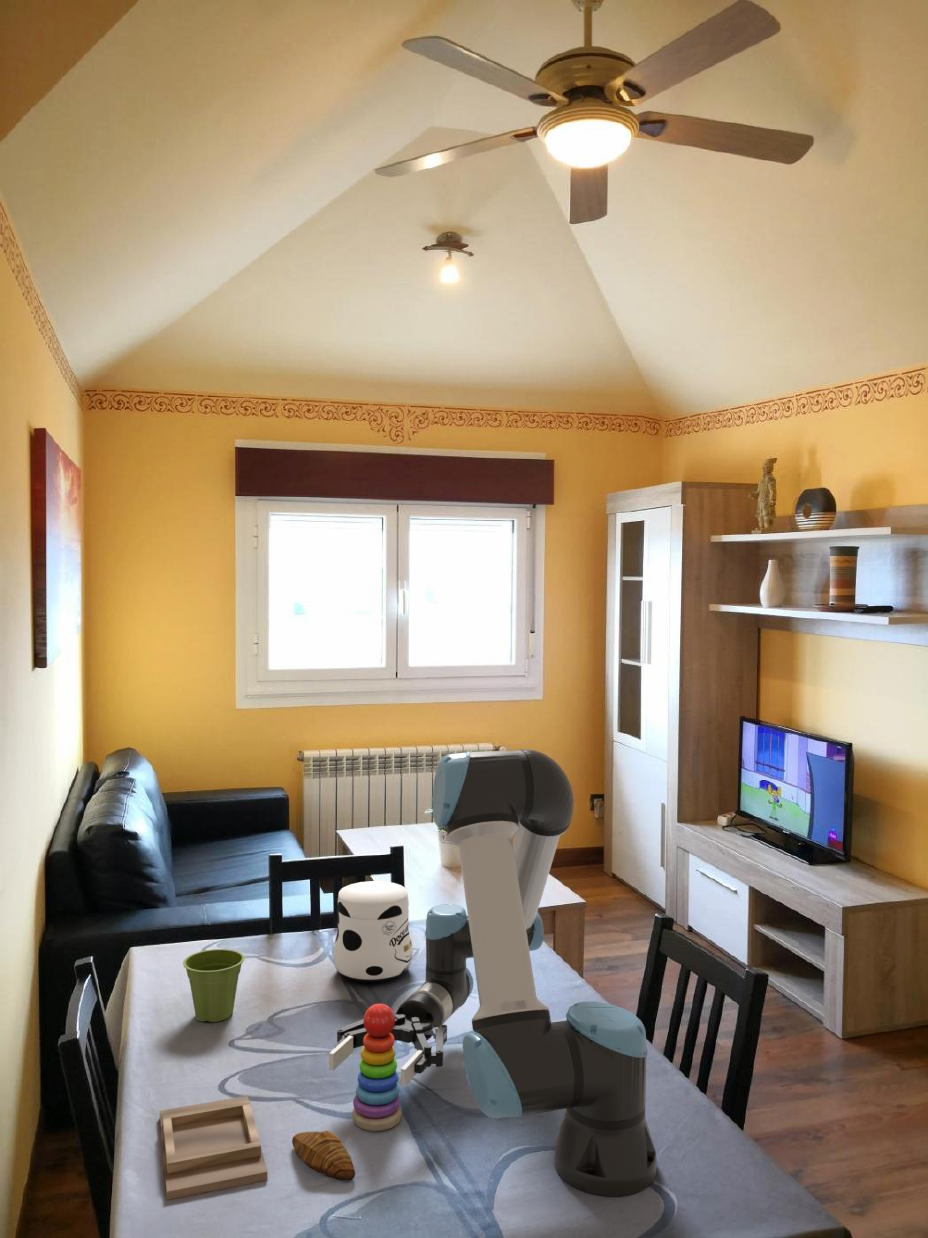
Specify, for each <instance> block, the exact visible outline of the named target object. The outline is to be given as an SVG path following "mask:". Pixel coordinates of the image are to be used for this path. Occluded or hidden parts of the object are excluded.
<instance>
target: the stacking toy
mask: <svg viewBox="0 0 928 1238" xmlns="http://www.w3.org/2000/svg"><path fill="white" fill-rule="evenodd" d="M394 1015H395V1014H394V1011H393V1009H392V1008H391V1007H390V1006H389V1005H387V1004H384V1003H376V1004H372V1005H370V1006H369V1007H368V1008H367V1010H366V1011H365V1013H364V1014H363V1022H364V1027H365V1029H366V1031H367V1032H368V1033H367V1034H366V1035H365V1036H364V1039H363V1045H364V1046H362V1048H361V1051H360V1057H361V1059H360V1061H359V1070H360V1071H359V1073H358V1074H357V1082H358V1084H356V1089H355V1096H354V1098H353V1102H352V1104H353V1109H352V1113H351V1118H352V1121H353V1123H354V1124H355V1125H356V1126H357V1127H359V1128H361V1129H362V1130H365V1131H370V1132H381V1131H385V1130H389V1129H391V1128H394V1127H395V1126H397V1124H399V1123H400V1121H401V1119H402V1116H403V1112H402V1107H401V1105H400V1103H401V1098H400V1097H401V1096H400V1095H399V1094H400V1090H401V1089H400V1088H401V1087H400V1084H399V1083H398V1080H399V1074H398V1072H397V1067H398V1062H397V1059H396V1058H395V1057H396V1050H395V1048H394V1045H395V1041H396V1040H394V1036H393V1035H392V1034H391V1033H390V1032H391V1031H392V1029H393V1027H394V1024H395V1016H394Z"/></svg>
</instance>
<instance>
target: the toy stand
mask: <svg viewBox="0 0 928 1238" xmlns="http://www.w3.org/2000/svg"><path fill="white" fill-rule="evenodd" d="M159 1125H160V1126H159V1127H160V1137H161V1147H162V1159H163V1168H164V1169H163V1170H164V1171H163V1172H164V1180H165V1191H166V1192H165V1193H166V1201H169V1200H175V1199H178V1198H179V1199H180V1198H184V1197H188V1196H193V1195H198V1194H204V1193H209V1192H214V1191H218V1190H219V1191H220V1190H222V1189H228V1188H234V1187H239V1186H245V1185H249V1184H254V1183H258V1182H262V1181H263V1182H264V1181H268V1180H269V1179H268V1168H267V1165H266V1161H265V1158H264V1157H265V1156H264V1153H263V1149H262V1145H261V1144H262V1143H261V1139H260V1135H259V1133H258V1128H257V1125H256V1121H255V1117H254V1114H253V1110H252V1105H251V1102H250V1099H249V1096H248V1095H244V1096H238V1097H231V1098H227V1099H220V1100H214V1101H209V1102H202V1103H197V1104H192V1105H191V1104H190V1105H185V1106H181V1107H175V1108H174V1107H173V1108H168V1109H162V1110H161V1109H160V1110H159Z"/></svg>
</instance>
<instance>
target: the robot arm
mask: <svg viewBox="0 0 928 1238" xmlns="http://www.w3.org/2000/svg"><path fill="white" fill-rule="evenodd" d="M570 782H571V781H570V779H569V778H568V776H567V774H566V773H565V771H564V769H563V768H562V767H561V766H560V765H559V763H557V761H555V760H554V759H553V758H551V757H550V756H549V755H547V754H544V753H542V752H540V751H537V750H534V749H528V748H527V749H518V750H516V749H515V750H492V751H485V750H484V751H469V750H468V751H465V752H459V753H449V754H446V755H445V756H443V757H442V758H441V759H440V761H439V762H438V765H437V767H436V770H435V775H434V779H433V786H432V787H433V789H432V798H431V799H432V816H433V819H434V824H435V825H436V826H437V827H440V828H441V829H442V828H446V833H447V834H446V835H447V840H448V841H449V842H450V843H451V844H453V845H454V846H455V847H457V849H458V851H459V859H460V860H459V861H460V866H461V867H460V868H461V876H462V883H463V889H464V890H463V891H464V897H465V905H466V909H465V908H464V907H462V906H460V905H457V904H446V903H445V904H444V903H442V904H439V905H435V906H432V907H431V908H430V909H429V910H428V911H427V914H426V919H425V920H426V921H425V931H424V937H425V981H424V982H423V984H421V985H420V986H419V987H418V988H417V989H416V990H415V991H414V992H413V993H412V994H411V995H410V996H409V997H407V998H406V999H405V1000H404V1001H403V1002H402V1003H401V1004H400V1005H399V1007H398V1008H397V1011H396V1012H395V1014H394V1016H395V1024H394V1027H393V1029H392V1031H391V1032H390V1033H391V1034H392V1035H393V1036H394V1040H395V1041H396V1042H399V1041H400V1042H403V1043H406V1044H410V1043H411V1044H413V1047H414V1049H415V1050H416V1052H415V1053H414V1054H413V1055H412V1056H411V1057H410V1058H409V1059H408V1061H406V1062H405V1064H403V1066H402V1067H401V1068H400V1086H401V1087H406V1086H408V1084H409V1083H410V1082H411V1081H412V1080H413V1079H414V1078H415V1076H416V1075H418V1074H420V1075H421V1074H422V1073H424V1071H425V1070H427V1068H429V1067H432V1065H435V1067H436V1068H443V1067H444V1045H445V1043H446V1042H447V1041H448V1025H447V1024H445V1023H446V1021H448V1019H450V1017H452V1015H453V1014H455V1013H456V1011H457V1010H459V1009H460V1008H461V1007H462V1006H463V1005H465V1003H466V1002H467V1000H468V998H469V997H470V996H471V994H472V992H473V989H474V978H473V976H472V973H471V972H470V969H469V968H468V967H467V959H473V964H474V973H475V979H476V987H477V994H478V1001H479V1007H478V1010H477V1011H476V1013H475V1014H474V1015H473V1017H472V1018H471V1026H472V1027H471V1028H472V1030H470V1031H469V1032H468V1033H466V1034H465V1035H464V1037H463V1040H462V1051H463V1054H462V1059H463V1065H464V1070H465V1074H466V1078H467V1083H468V1085H469V1088H470V1091H471V1094H472V1096H473V1099H474V1101H475V1103H476V1104H477V1106H478V1108H479V1109H480V1111H482V1113H483V1114H484V1115H486V1116H487V1117H489V1118H491V1119H502V1118H515V1119H516V1118H520V1117H521V1116H526V1115H532V1114H533V1115H534V1114H535V1115H536V1114H541V1113H546V1112H552V1111H559V1110H564V1109H565V1110H566V1111H565V1114H564V1116H563V1119H562V1122H561V1125H560V1128H559V1131H558V1134H557V1137H556V1139H555V1142H554V1147H553V1149H554V1151H553V1152H554V1153H553V1154H554V1155H553V1157H554V1159H553V1164H554V1168H555V1170H556V1171H557V1173H558V1175H559V1176H560V1177H561V1178H562V1179H563V1180H564V1181H565V1182H566V1183H567V1184H569V1185H571V1186H572V1187H574V1188H576V1189H578V1190H581V1191H583V1192H586V1193H588V1194H589V1193H590V1194H592V1195H593V1194H594V1195H596V1196H605V1197H621V1196H627V1195H632V1194H635V1193H638V1192H640V1191H643V1190H644V1189H646V1188H647V1187H648V1186H649V1185H651V1184H652V1183H653V1181H654V1180H655V1178H656V1176H657V1165H658V1163H657V1162H658V1160H657V1159H658V1158H657V1157H658V1156H657V1151H656V1148H655V1144H654V1142H653V1138H652V1134H651V1131H650V1128H649V1125H648V1122H647V1119H646V1100H647V1099H646V1098H647V1097H646V1096H647V1095H646V1093H647V1092H646V1091H647V1089H646V1087H647V1057H648V1054H649V1053H648V1048H647V1037H646V1036H647V1035H646V1034H647V1033H646V1028H645V1026H644V1024H643V1022H642V1020H641V1019H639V1017H637V1016H636V1015H635V1014H634V1013H632V1012H631V1011H629V1010H627V1009H625V1008H623V1007H621V1006H618V1005H614V1004H611V1003H607V1002H602V1001H601V1002H600V1001H579V1002H576V1003H574V1004H573V1005H570V1007H568V1009H567V1013H566V1014H565V1015H566V1016H565V1018H566V1020H560V1021H553V1022H552V1019H551V1013H550V1008H549V1007H548V1006H547V1005H545V1004H544V1003H543V1002H542V1001H540V999H539V998H538V996H537V990H536V986H535V985H536V984H535V977H534V972H533V967H532V966H533V965H532V959H531V954H530V953H531V952H532V951H533V952H534V951H537V950H539V949H540V948H541V947H542V945H543V943H544V942H543V941H544V932H545V931H544V924H543V920H542V917H541V914H540V913H539V912H538V910H539V908H540V903H541V900H542V899H543V897H542V896H543V894H544V892H545V887H546V884H547V881H548V878H549V873H550V871H551V867H552V864H553V861H554V858H555V854H556V851H557V848H558V844H559V842H560V838H561V836H562V835H564V834H565V833H566V832H567V831H568V829H569V827H570V825H571V823H572V819H573V815H574V809H575V799H574V791H573V788H572V785H571V783H570ZM363 1019H364V1018H363ZM363 1019H360V1020H356V1021H355V1022H353V1023H350V1024H347V1025H345V1026H343V1027H340V1028H338V1029H337V1030H336V1044H334V1048H333V1049H332V1050H331V1051H329V1054H328V1055H329V1057H328V1059H329V1060H328V1063H329V1065H328V1066H329V1068H328V1069H329V1070H330V1071H334V1070H336V1069H337V1068H338V1067H339V1066H340V1065H342V1063H344V1062H345V1060H347V1059H348V1058H349V1056H351V1055H353V1053H354V1049H356V1048H360V1047H364V1045H363V1039H364V1036H365V1035H366V1034H367V1033H368V1032H367V1031H366V1029H365V1027H364V1022H363ZM432 1037H433V1039H434V1040H435V1041H434V1042H435V1051H432V1045H430V1044H429V1043H428V1041H429V1040H431V1038H432Z"/></svg>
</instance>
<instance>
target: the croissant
mask: <svg viewBox="0 0 928 1238" xmlns="http://www.w3.org/2000/svg"><path fill="white" fill-rule="evenodd" d="M291 1143H292V1147H293V1149H294V1152H295V1153H296V1155H297V1157H298V1158H299V1159H300V1160H301V1161H302V1162H303V1164H305V1165H306V1167H308V1168H309V1169H310V1170H312V1171H314V1172H316V1173H319V1174H322V1175H324V1176H326V1177H327V1178H331V1179H334V1180H336V1181H341V1182H343V1181H344V1182H351V1181H352V1180H354V1178H355V1176H356V1170H355V1166H354V1164H353V1160H352V1158H351V1155H350V1154H349V1152H348V1151H347V1149H346V1147H345V1146H344V1144H343V1142H342V1140H341V1139H340V1138H339V1137H338V1136H337V1135H336V1134H335V1133H334V1132H332V1131H329V1130H328V1131H327V1130H324V1131H303V1132H299V1133H296V1134H295V1135H293V1136H292V1140H291Z"/></svg>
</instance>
